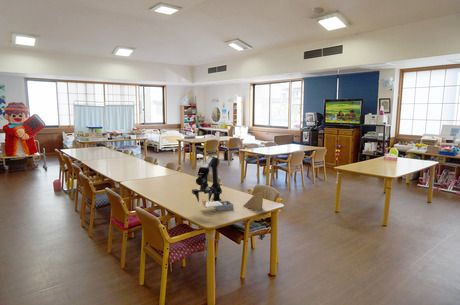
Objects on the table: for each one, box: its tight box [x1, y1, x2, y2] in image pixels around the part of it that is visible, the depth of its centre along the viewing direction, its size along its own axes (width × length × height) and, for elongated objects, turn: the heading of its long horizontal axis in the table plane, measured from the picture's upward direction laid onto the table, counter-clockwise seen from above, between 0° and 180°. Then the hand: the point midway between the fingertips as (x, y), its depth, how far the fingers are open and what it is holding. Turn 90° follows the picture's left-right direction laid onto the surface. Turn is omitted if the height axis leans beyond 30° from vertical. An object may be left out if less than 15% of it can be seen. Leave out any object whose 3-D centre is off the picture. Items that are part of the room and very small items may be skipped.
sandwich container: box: [242, 191, 264, 212], centre depth 255 cm, size 9×15×15 cm, turn 43°
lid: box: [200, 199, 223, 208], centre depth 247 cm, size 11×15×5 cm
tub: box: [213, 200, 234, 212], centre depth 252 cm, size 10×13×4 cm
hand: (203, 201), depth 243 cm, fingers open, 9 cm apart
